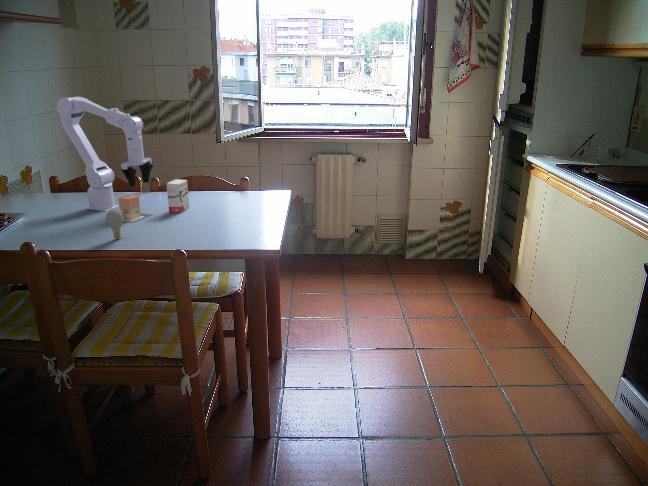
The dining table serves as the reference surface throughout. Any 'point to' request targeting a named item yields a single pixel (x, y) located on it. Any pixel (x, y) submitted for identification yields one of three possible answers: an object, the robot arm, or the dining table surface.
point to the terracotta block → (128, 202)
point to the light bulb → (115, 222)
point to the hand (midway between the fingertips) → (139, 184)
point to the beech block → (131, 213)
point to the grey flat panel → (137, 218)
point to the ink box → (177, 196)
